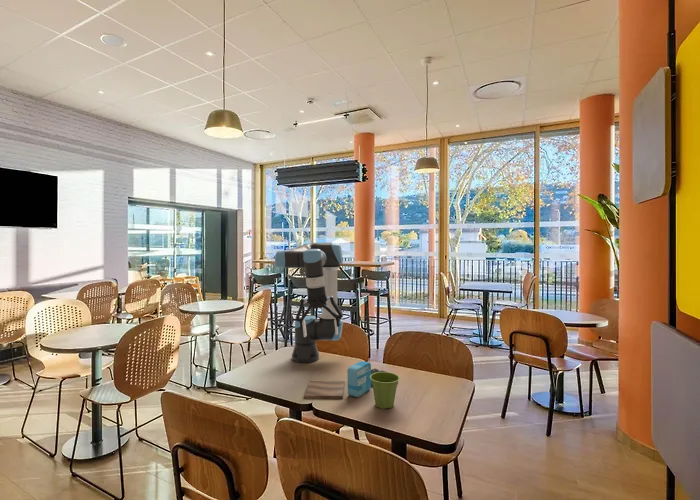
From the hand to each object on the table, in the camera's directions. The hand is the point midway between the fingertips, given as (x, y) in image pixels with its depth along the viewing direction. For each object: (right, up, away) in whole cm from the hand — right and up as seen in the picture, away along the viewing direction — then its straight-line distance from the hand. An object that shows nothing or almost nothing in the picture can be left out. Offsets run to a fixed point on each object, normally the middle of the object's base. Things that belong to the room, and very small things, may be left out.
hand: (321, 335), depth 151 cm
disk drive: (+24, -26, +17) cm, 39 cm away
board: (+2, -25, +4) cm, 26 cm away
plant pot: (+26, -26, -10) cm, 38 cm away
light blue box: (+16, -25, +2) cm, 30 cm away
